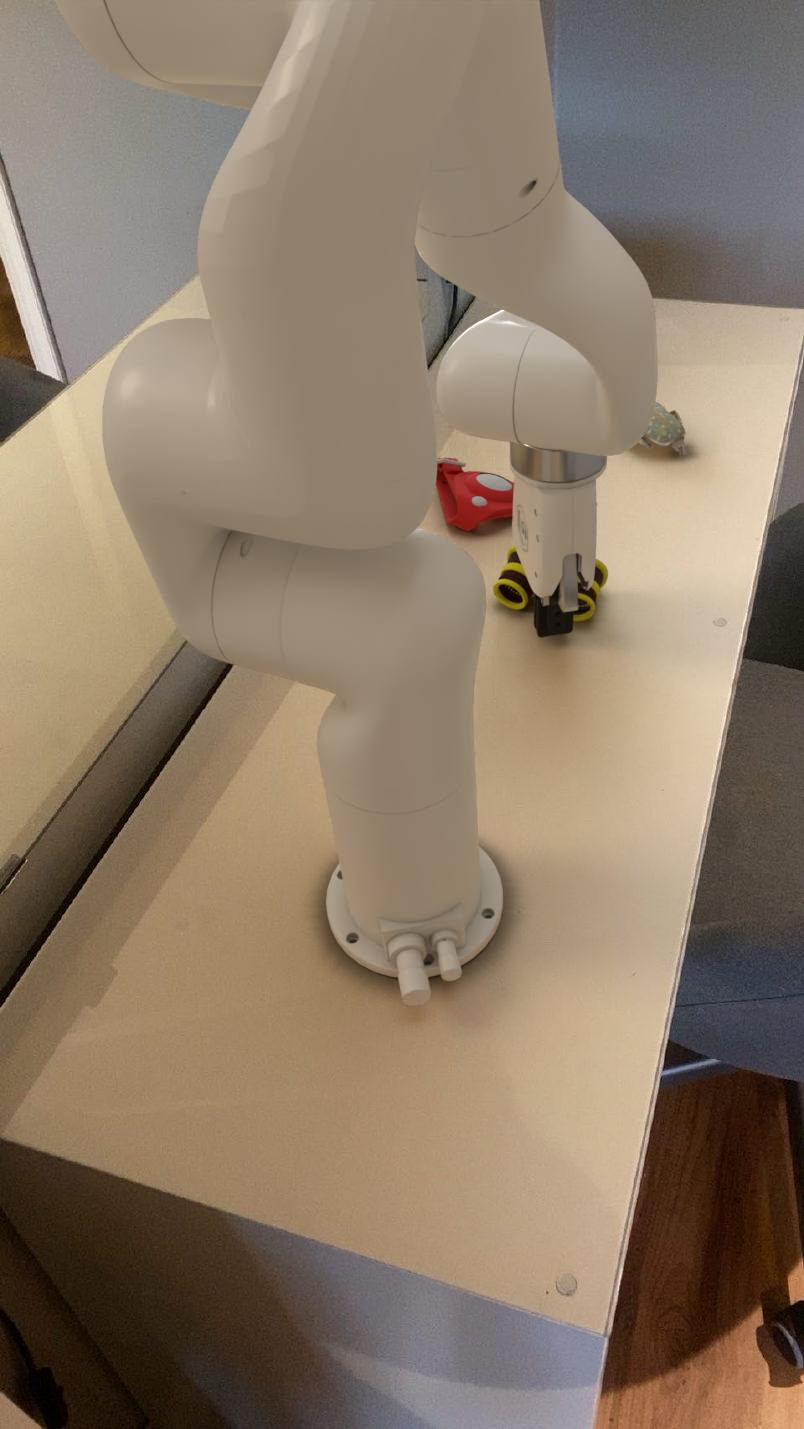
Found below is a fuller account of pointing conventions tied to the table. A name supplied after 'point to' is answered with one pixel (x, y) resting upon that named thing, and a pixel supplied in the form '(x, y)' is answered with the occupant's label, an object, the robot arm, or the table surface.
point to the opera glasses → (518, 591)
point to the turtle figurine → (665, 429)
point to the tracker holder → (472, 494)
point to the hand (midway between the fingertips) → (552, 629)
